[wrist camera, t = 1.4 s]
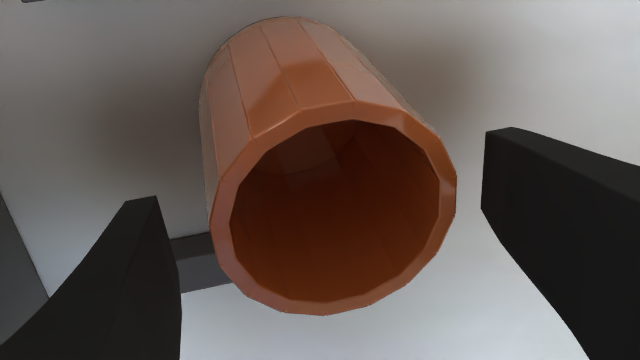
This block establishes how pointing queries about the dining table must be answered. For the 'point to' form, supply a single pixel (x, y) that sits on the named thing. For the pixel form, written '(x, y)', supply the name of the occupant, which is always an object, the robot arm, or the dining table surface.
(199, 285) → the coffee maker
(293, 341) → the dining table surface
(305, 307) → the cup
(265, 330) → the dining table surface
